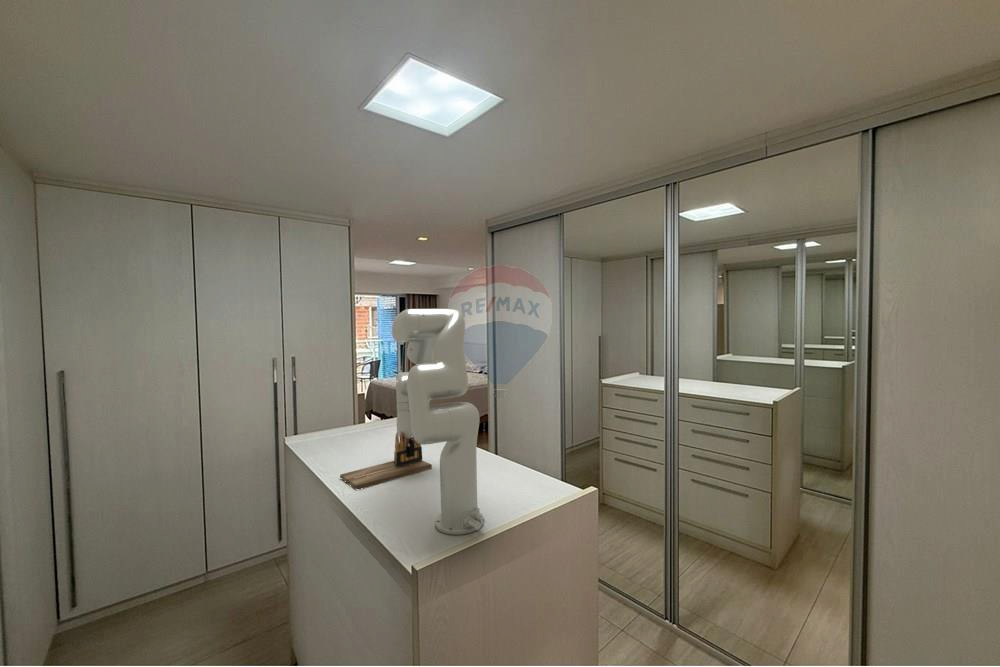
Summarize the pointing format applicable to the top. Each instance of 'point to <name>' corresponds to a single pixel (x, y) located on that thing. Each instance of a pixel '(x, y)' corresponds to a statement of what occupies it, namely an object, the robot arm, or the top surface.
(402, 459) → the ammunition clip
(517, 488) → the top surface
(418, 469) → the walnut board
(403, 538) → the top surface
